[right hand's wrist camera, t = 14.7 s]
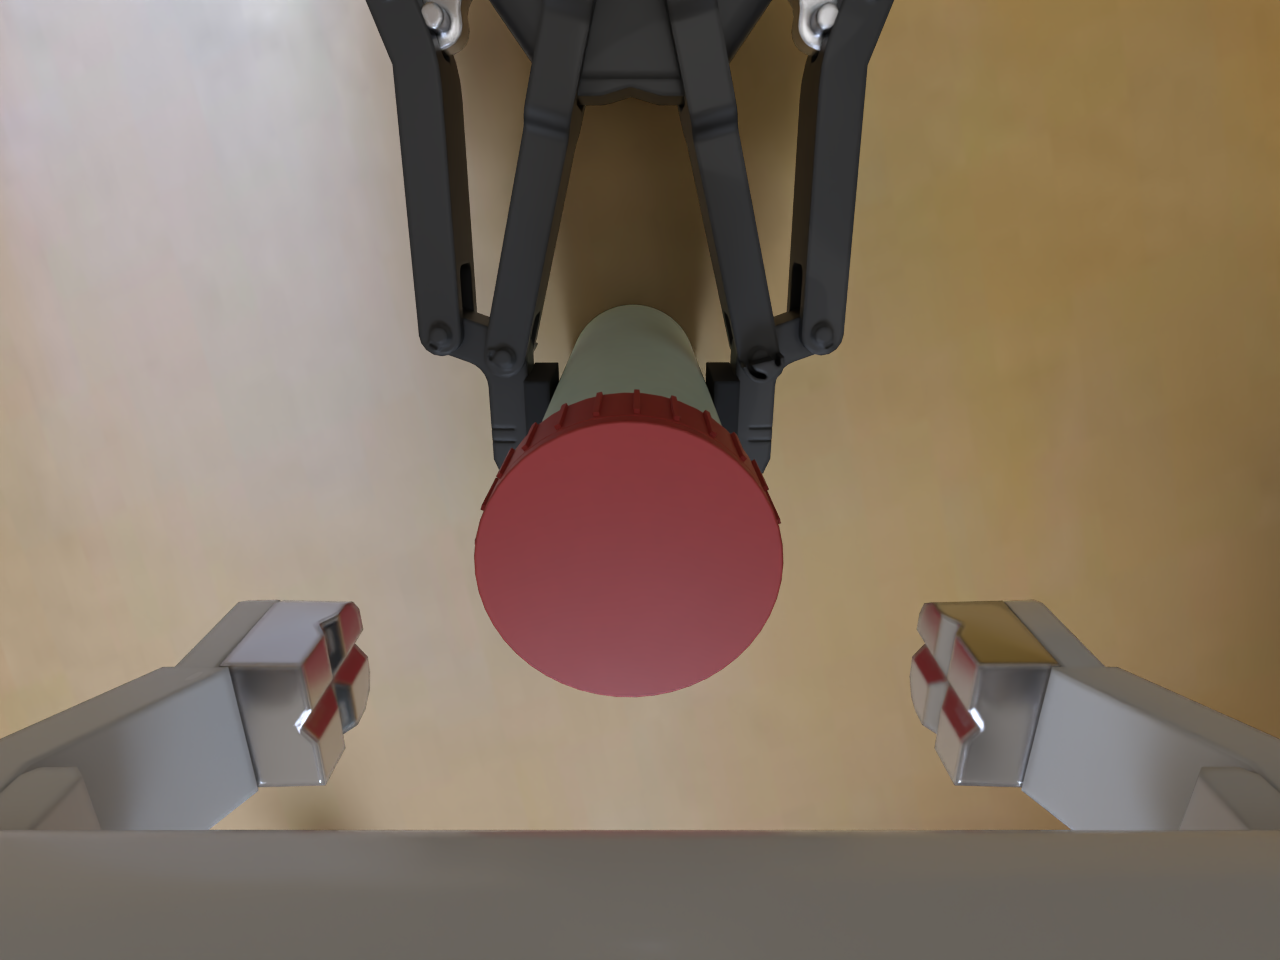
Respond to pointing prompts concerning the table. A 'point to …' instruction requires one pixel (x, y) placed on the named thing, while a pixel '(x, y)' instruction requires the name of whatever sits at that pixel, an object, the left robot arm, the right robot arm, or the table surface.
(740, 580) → the lid
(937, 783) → the table surface
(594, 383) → the jar
